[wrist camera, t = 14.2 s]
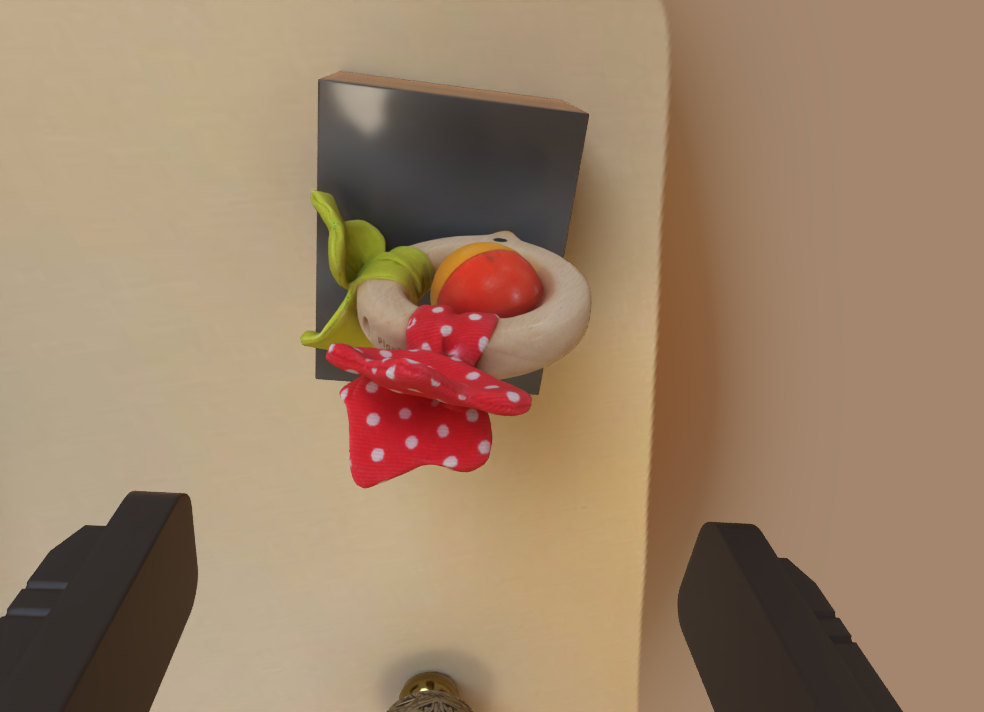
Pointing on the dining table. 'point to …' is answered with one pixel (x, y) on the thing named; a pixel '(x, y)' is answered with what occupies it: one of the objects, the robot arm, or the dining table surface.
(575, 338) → the teething ring toy
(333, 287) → the block
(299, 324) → the dining table surface
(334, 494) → the dining table surface
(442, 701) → the cup
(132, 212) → the dining table surface
